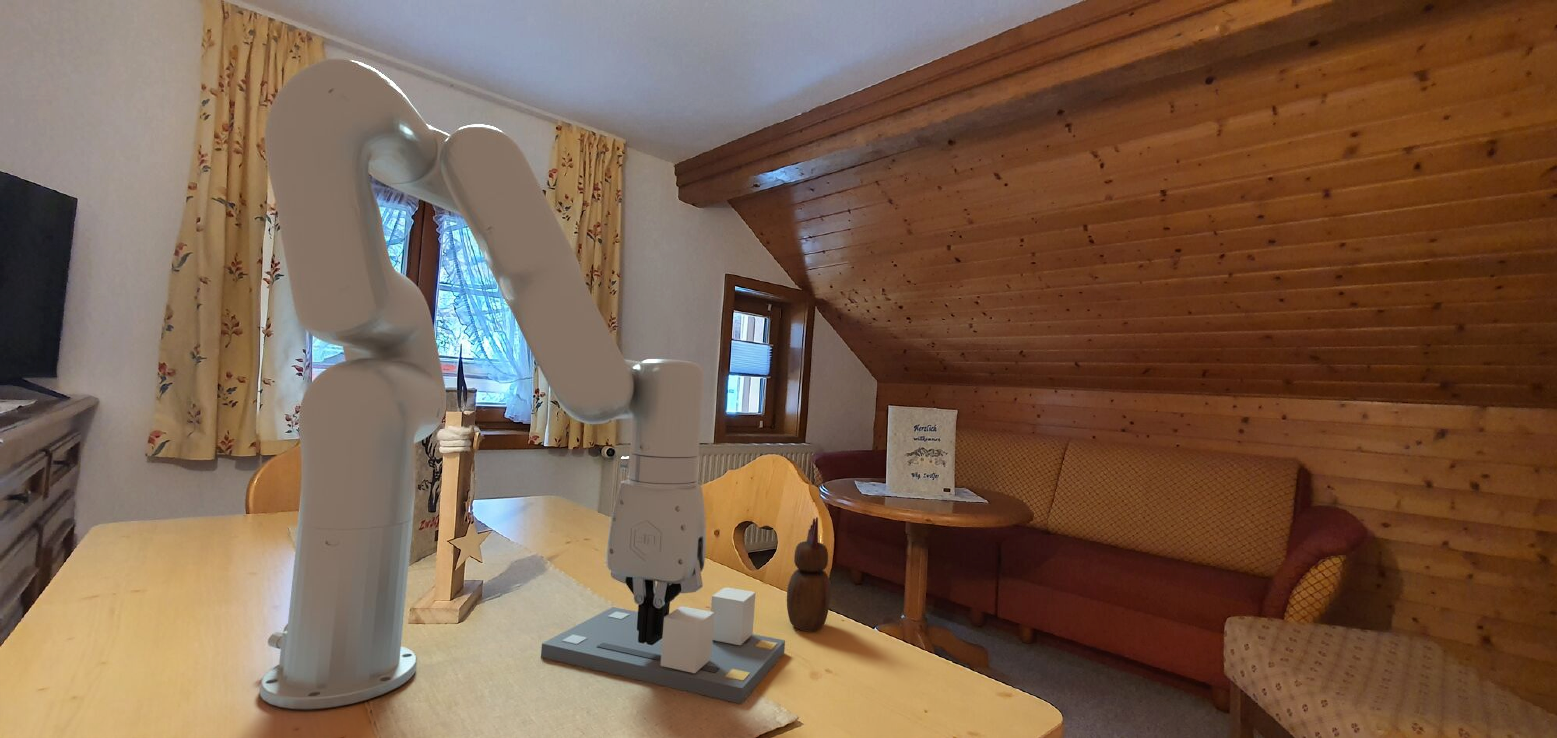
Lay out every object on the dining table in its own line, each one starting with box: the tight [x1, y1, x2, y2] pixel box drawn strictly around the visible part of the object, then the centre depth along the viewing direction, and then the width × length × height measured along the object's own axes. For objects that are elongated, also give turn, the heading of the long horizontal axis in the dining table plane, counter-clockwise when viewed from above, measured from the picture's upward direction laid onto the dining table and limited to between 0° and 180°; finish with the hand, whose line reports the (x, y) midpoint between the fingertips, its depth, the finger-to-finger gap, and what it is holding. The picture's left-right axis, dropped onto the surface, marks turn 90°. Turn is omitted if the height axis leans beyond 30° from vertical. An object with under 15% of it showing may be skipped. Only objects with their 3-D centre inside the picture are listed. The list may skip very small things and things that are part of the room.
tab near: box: [660, 605, 714, 673], centre depth 67 cm, size 4×4×5 cm
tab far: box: [710, 586, 756, 645], centre depth 75 cm, size 4×4×5 cm
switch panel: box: [540, 606, 786, 704], centre depth 73 cm, size 24×14×2 cm, turn 72°
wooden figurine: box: [786, 516, 832, 632], centre depth 85 cm, size 7×6×15 cm
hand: (651, 639), depth 69 cm, fingers closed
